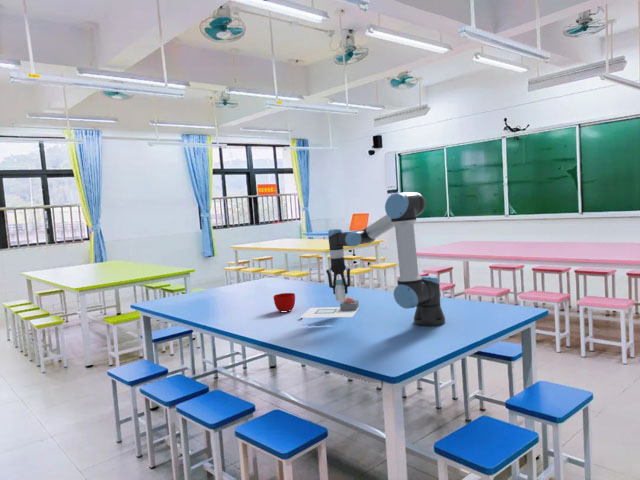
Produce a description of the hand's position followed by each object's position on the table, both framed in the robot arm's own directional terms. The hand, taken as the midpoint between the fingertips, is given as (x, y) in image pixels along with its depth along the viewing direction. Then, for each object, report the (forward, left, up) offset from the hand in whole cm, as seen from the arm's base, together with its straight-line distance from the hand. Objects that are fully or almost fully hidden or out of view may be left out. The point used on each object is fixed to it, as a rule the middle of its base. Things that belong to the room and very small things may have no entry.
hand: (341, 299), depth 252 cm
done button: (+14, -1, -6) cm, 16 cm away
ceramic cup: (+18, +38, -10) cm, 44 cm away
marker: (0, 0, -1) cm, 1 cm away
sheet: (+7, +8, -10) cm, 15 cm away
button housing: (+14, -1, -8) cm, 17 cm away
